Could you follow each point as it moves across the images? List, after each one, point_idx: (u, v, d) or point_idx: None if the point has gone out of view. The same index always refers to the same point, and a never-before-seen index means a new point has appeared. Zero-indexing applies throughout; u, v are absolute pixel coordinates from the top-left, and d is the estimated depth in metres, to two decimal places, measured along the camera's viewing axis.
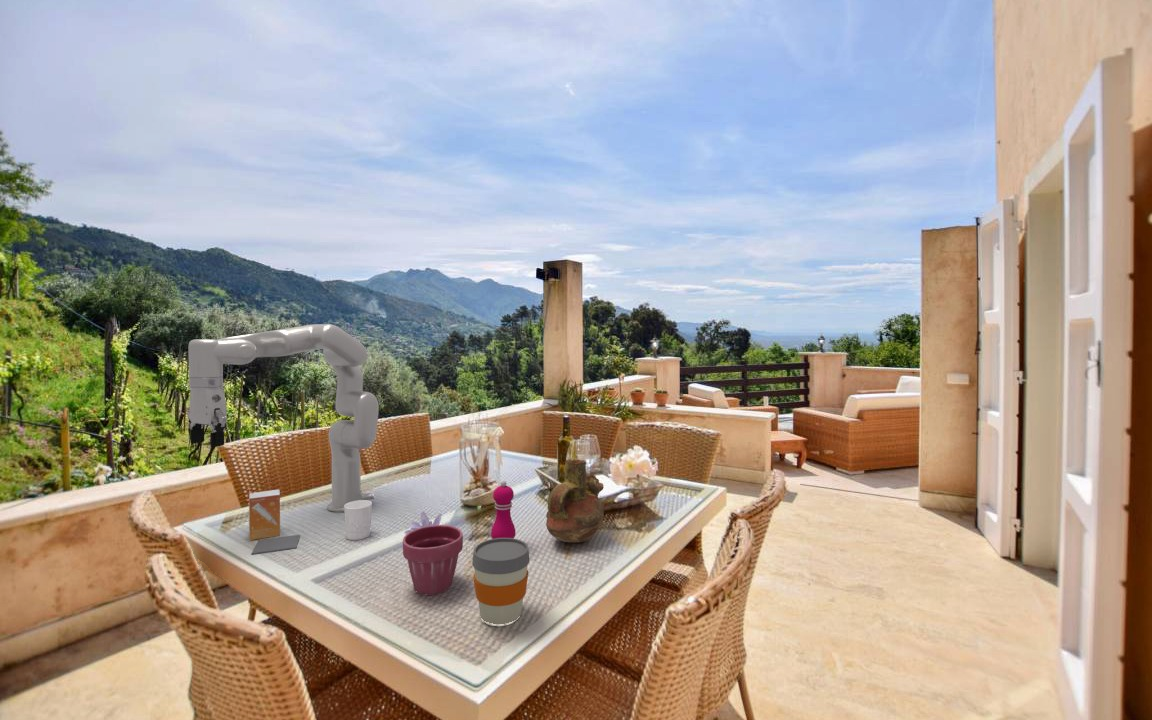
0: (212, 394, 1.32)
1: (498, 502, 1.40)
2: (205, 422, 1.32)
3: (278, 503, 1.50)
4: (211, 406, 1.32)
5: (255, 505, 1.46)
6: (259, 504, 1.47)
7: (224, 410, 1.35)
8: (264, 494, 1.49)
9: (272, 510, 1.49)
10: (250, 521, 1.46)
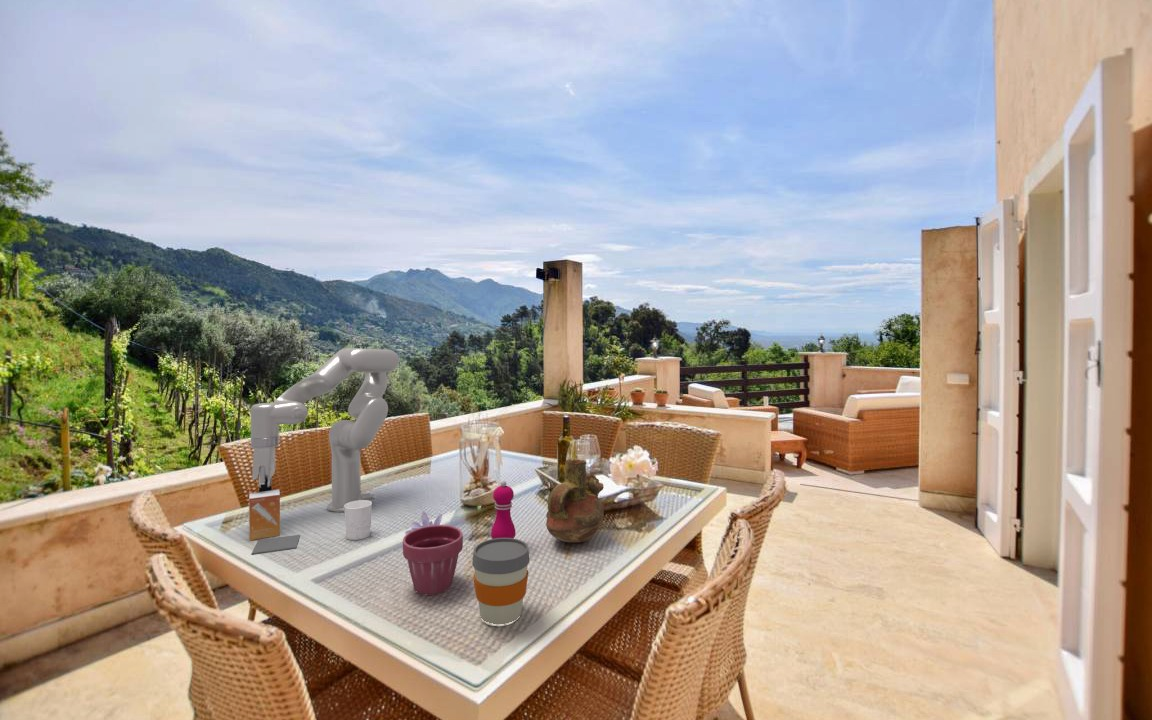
0: None
1: (498, 502, 1.40)
2: (274, 471, 1.59)
3: (278, 503, 1.50)
4: None
5: (255, 505, 1.46)
6: (259, 504, 1.47)
7: None
8: (264, 494, 1.49)
9: (272, 510, 1.49)
10: (250, 521, 1.46)
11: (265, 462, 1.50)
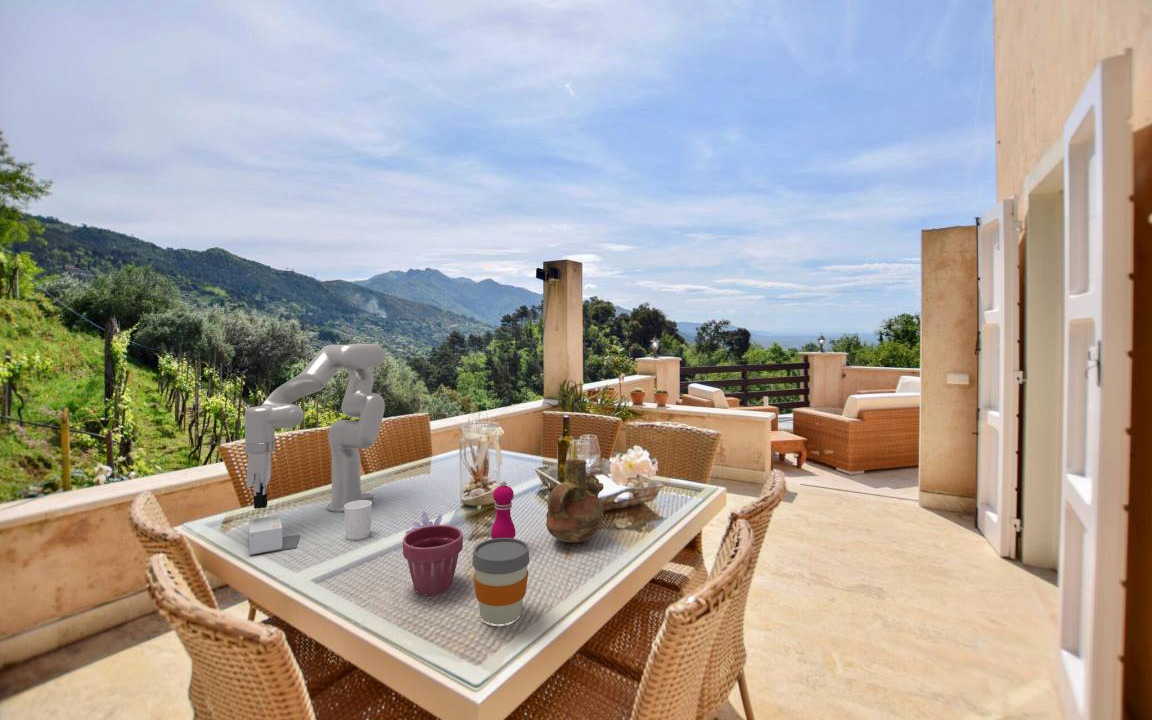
0: None
1: (498, 502, 1.40)
2: (270, 477, 1.51)
3: None
4: None
5: None
6: None
7: None
8: (265, 544, 1.37)
9: None
10: None
11: (260, 469, 1.43)
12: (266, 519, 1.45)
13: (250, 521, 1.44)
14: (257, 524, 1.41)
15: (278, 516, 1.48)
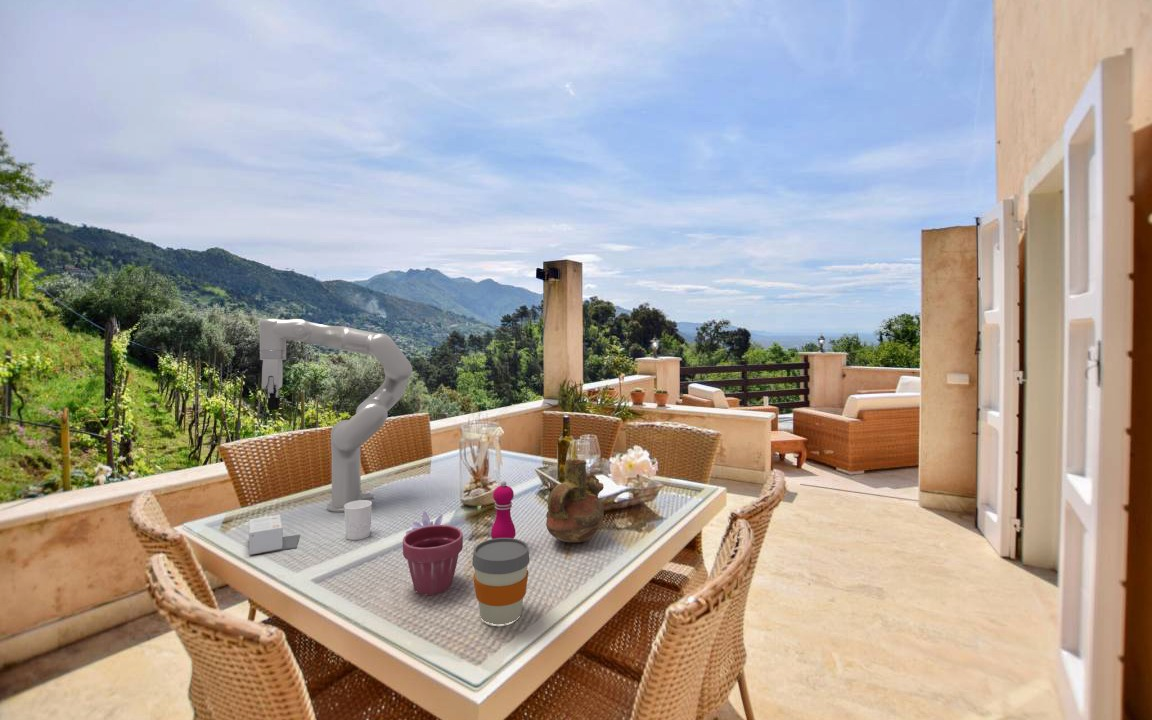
0: None
1: (498, 502, 1.40)
2: (281, 385, 1.68)
3: None
4: None
5: None
6: None
7: None
8: (265, 544, 1.37)
9: None
10: None
11: (274, 372, 1.59)
12: (266, 519, 1.45)
13: (250, 521, 1.44)
14: (257, 524, 1.41)
15: (278, 516, 1.48)
